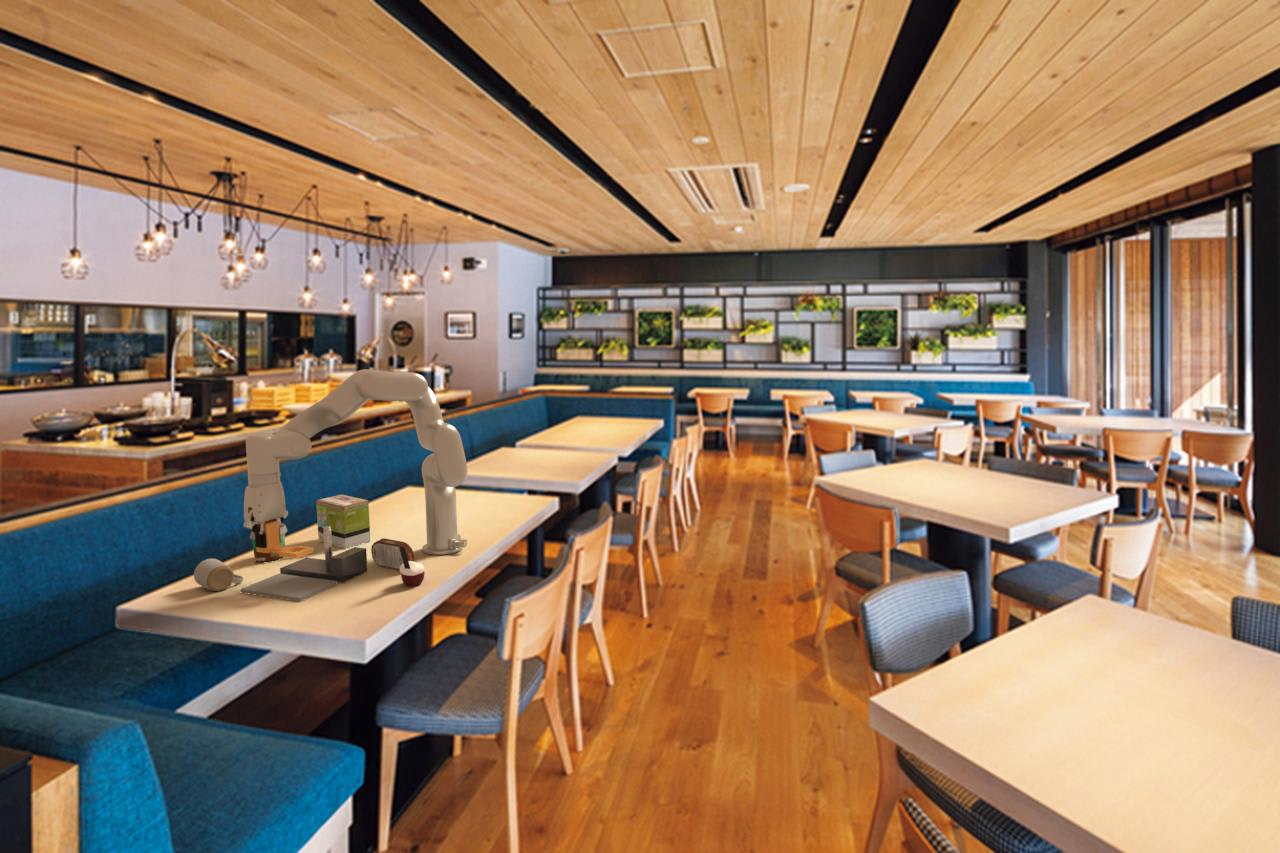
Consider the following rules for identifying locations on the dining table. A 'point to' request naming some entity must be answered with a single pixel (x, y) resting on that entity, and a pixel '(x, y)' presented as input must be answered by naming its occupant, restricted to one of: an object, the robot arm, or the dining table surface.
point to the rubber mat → (289, 587)
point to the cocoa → (411, 570)
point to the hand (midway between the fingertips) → (268, 544)
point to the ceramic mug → (215, 575)
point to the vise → (330, 563)
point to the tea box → (344, 520)
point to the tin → (390, 553)
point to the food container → (268, 556)
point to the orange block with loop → (274, 543)
